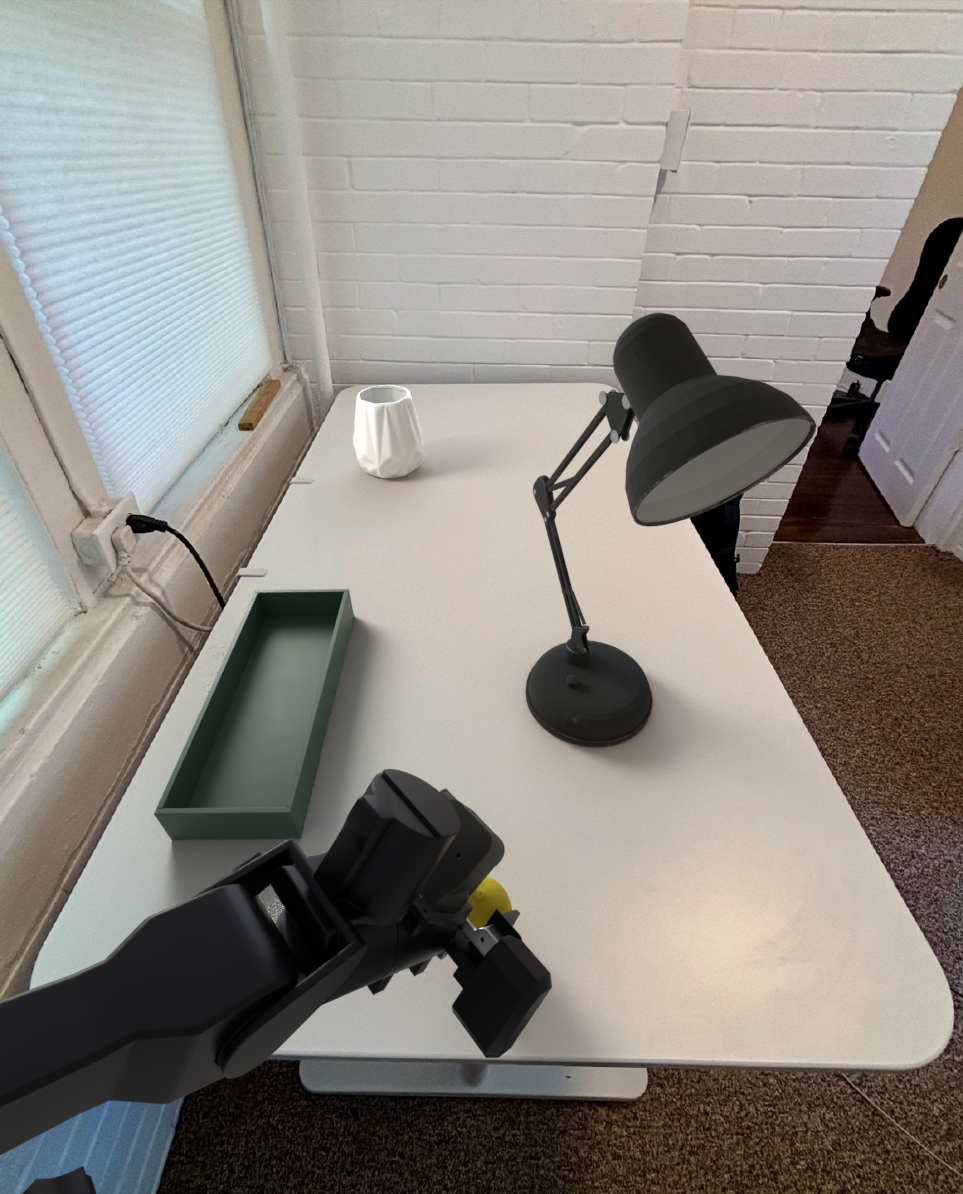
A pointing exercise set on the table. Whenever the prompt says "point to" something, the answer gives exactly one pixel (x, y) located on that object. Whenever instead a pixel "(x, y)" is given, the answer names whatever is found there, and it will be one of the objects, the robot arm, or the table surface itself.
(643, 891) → the table surface
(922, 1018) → the table surface
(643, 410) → the desk lamp
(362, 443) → the vase
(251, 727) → the green rectangular tray
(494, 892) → the lemon
